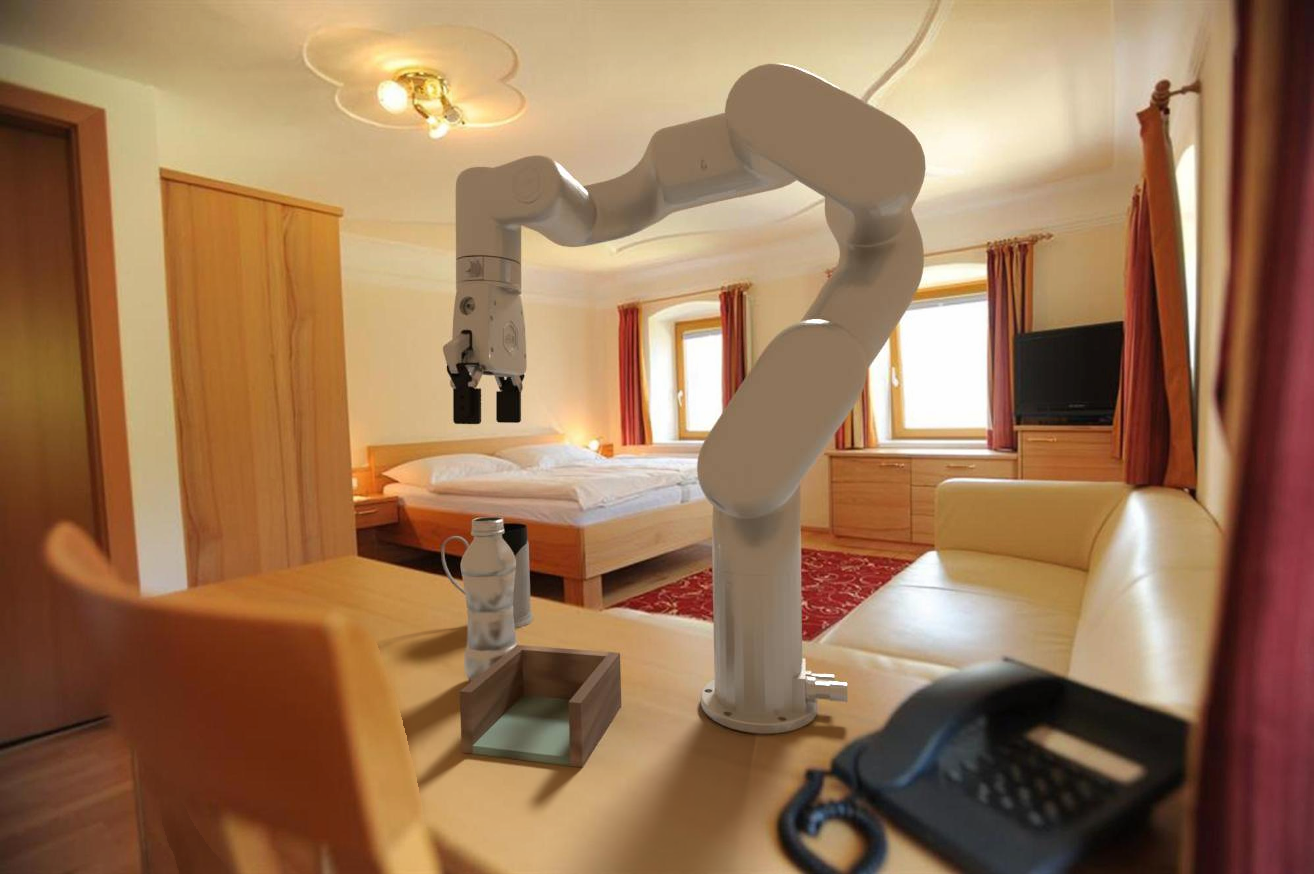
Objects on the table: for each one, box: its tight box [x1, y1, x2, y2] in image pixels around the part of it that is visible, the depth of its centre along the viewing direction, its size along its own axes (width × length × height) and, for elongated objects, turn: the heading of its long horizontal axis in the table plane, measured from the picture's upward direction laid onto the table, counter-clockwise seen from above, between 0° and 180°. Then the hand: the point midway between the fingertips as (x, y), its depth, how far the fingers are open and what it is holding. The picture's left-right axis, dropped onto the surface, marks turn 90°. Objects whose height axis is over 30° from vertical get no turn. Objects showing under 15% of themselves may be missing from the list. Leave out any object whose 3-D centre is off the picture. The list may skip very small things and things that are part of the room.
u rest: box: [459, 644, 622, 768], centre depth 63 cm, size 12×12×6 cm
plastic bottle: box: [460, 516, 519, 683], centre depth 74 cm, size 6×7×20 cm
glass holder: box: [440, 522, 534, 630], centre depth 96 cm, size 9×14×15 cm, turn 90°
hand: (489, 423), depth 73 cm, fingers open, 9 cm apart
